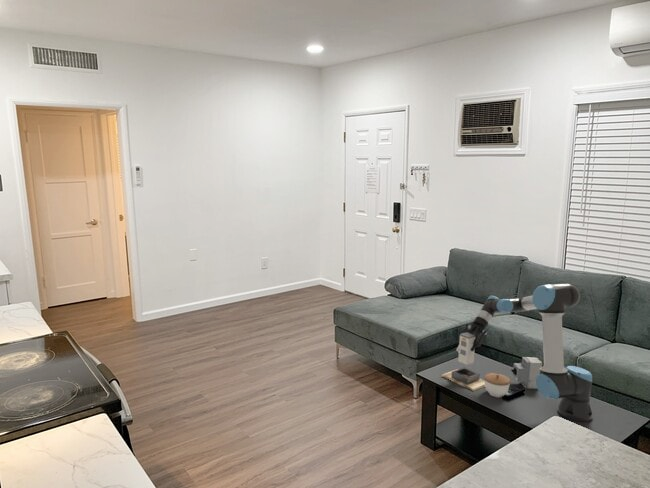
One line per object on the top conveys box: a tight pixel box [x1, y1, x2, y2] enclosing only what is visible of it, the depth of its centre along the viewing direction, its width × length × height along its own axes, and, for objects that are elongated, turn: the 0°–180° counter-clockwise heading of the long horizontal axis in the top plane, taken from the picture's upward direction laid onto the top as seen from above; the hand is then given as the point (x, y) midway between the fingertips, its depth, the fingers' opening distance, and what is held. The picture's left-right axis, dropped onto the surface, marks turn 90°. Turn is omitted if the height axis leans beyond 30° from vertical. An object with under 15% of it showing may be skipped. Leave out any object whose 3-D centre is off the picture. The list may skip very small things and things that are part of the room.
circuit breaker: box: [511, 356, 543, 390], centre depth 260 cm, size 8×14×15 cm, turn 88°
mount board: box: [441, 368, 486, 392], centre depth 265 cm, size 22×14×1 cm, turn 35°
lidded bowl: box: [484, 372, 511, 398], centre depth 248 cm, size 13×13×11 cm
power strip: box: [457, 331, 476, 366], centre depth 263 cm, size 6×6×16 cm
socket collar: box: [451, 366, 481, 384], centre depth 265 cm, size 11×11×4 cm
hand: (462, 353), depth 261 cm, fingers closed on power strip, 6 cm apart
